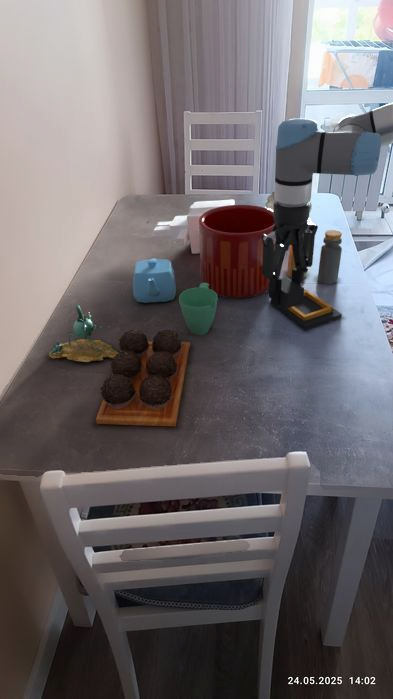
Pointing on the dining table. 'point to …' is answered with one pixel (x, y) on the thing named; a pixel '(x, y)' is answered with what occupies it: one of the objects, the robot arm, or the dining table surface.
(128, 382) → the chocolate muffin tray
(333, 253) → the bottle
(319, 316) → the base
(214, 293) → the mug
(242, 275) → the planter
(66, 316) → the dining table surface
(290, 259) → the vase
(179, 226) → the white stepped block
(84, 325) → the cartoon bug character
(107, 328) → the dining table surface
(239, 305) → the dining table surface
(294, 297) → the black rectangular block
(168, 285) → the teapot
